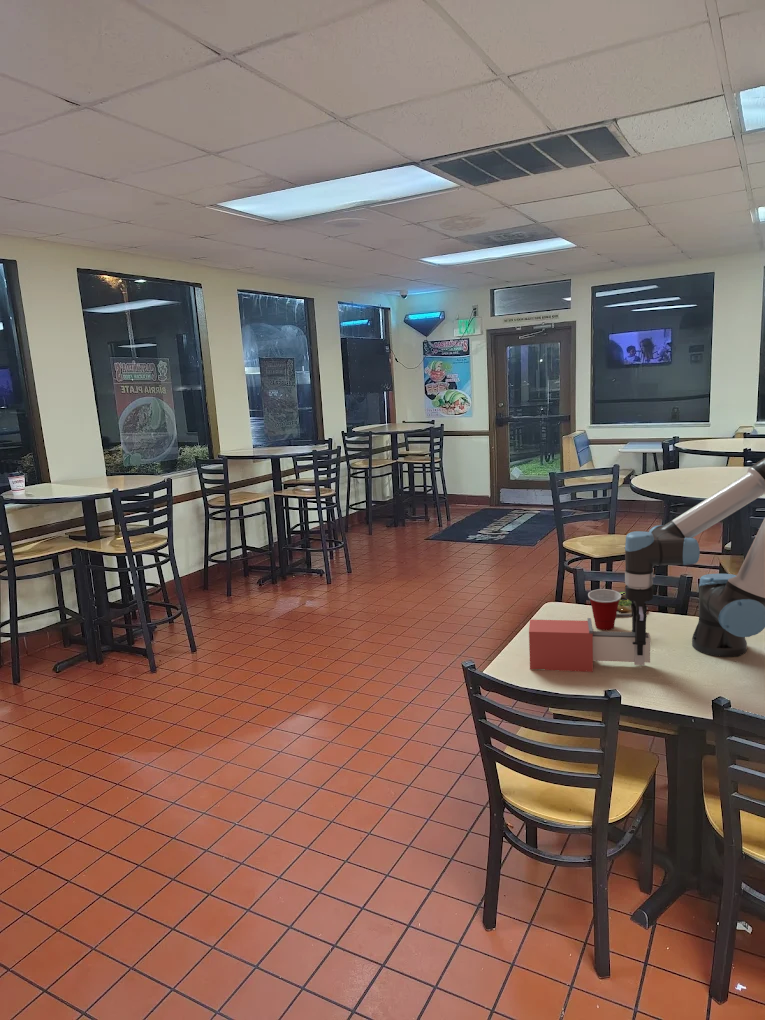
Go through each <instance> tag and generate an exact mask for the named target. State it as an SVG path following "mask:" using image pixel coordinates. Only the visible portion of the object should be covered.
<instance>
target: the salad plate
mask: <svg viewBox="0 0 765 1020" xmlns="http://www.w3.org/2000/svg"><path fill="white" fill-rule="evenodd" d="M618 592H619V591H618ZM619 593H620V594H623V593H625V591H620V592H619ZM622 599H627V598H626V597H625V594H623V595H621V599H620V600H619V604H618V608H617V614H616V618H618V617H619V618H623V617H632V608H631V603H632V602H631V601H630V600H628V599H627V600H622ZM621 609H623V610H621Z"/></svg>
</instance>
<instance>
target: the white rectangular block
mask: <svg viewBox="0 0 765 1020" xmlns="http://www.w3.org/2000/svg"><path fill="white" fill-rule="evenodd" d="M633 642H635V632H632V631H607V630H600V631H598V630H597V631H596V630H593V662H597V661H599V662H620V663H621V662H622V663H623V662H624V663H634V644H633ZM645 663H651V634H650V632H646V645H645Z"/></svg>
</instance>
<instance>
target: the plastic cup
mask: <svg viewBox="0 0 765 1020" xmlns="http://www.w3.org/2000/svg"><path fill="white" fill-rule="evenodd" d="M587 597H588V599H589V601H590V604H591V610H592V614H593V620H594V625H595V628H596V629H597V630H600V631H611V630H614V627H615V622H616V618H617V617H616V614H617V613H618V611H617V608H618V604H619V600H620V599H621V594H620V593H619V591H617V590H613V589H606V588H598V589H593V590H591V591H588V593H587Z"/></svg>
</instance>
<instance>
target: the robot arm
mask: <svg viewBox="0 0 765 1020" xmlns="http://www.w3.org/2000/svg"><path fill="white" fill-rule="evenodd" d="M763 495H765V457H764V458H762V459H760V460H759V461H757V462H755V463H754V464H753V465H751V466H750V467H748V468H747V472H746V473H745V474H744V475H742V476H741V477H738V478H737V479H735V480H734V481H733V482H730V483H729V484H728V485H726V486H724V487H723V488H721V489H720V490H718V491H717V492H715V493H714V494H711V495H710V496H709V497H707V498H706V499H703V500H702V501H701V502H699V503H697V504H696V505H694V506H693V507H691V508H689V509H688V510H686V511H685V512H683V513H682V514H680V515H679V516H676V517H675V518H674V519H672V520H671V521H669V522H667V523H666V524H664V525H662V524H659V525H654V526H652V527H651V528H650V529H649V531H641V530H640V531H639V530H638V531H637V530H636V531H631V532H629V533H627V534H626V535H625V544H624V545H625V547H624V556H625V557H624V559H625V561H624V562H625V567H624V569H625V570H624V584H625V587H624V588H625V589H624V592H625V597H626V598H627V599H628V600H630V601H631V602H632V603H631V608H632V616H631V618H632V620H631V624H632V625H631V626H632V627H631V632H635V642H633V644H634V662H633V664H634V665H636V666H645V663H646V662H645V645H646V631H647V618H648V615H647V612H648V606H647V605H646V602H650V601H652V600H653V598H654V587H653V584H654V578H656V574H655V573H654V566H687V565H695V564H697V563H698V562H699V559H700V552H701V551H700V550H701V549H700V546H699V545H700V544H699V542H698V540H697V539H696V538H695V537H696V536H698V535H699V534H701V533H703V532H705V531H706V530H707V529H709V528H711V527H712V526H714V525H716V524H718V523H719V522H721V521H722V520H724V519H726V518H728V517H729V516H731V515H733V514H734V513H736V512H738V511H739V510H741V509H742V508H744V507H745V506H747V505H749V504H751V502H754V501H755V500H757V499H758V498H760V497H763ZM698 587H699V588H698V589H699V591H698V595H699V597H698V598H699V600H698V622H697V624H696V627H695V630H694V632H693V635H692V639H691V642H692V643H691V645H692V648H694V649H695V650H696V651H698V652H700V653H703V654H706V655H710V656H714V657H715V656H716V657H730V658H732V657H738V656H742V655H743V654H745V653H746V652H747V650H748V642H747V639H746V638H751V637H753V636H756V635H759V634H760V633H761V632H762V631H763V630H764V629H765V517H764V518H763V521H762V523H761V524H760V526H759V528H758V531H757V533H756V535H755V538H754V539H753V541H752V543H751V545H750V548H749V550H748V551H747V554H746V556H745V558H744V561H743V562H742V564H741V566H740V568H739V570H738V572H737V574H732V573H708V574H704V575H702V576H701V577H700V578H699V584H698Z"/></svg>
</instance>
